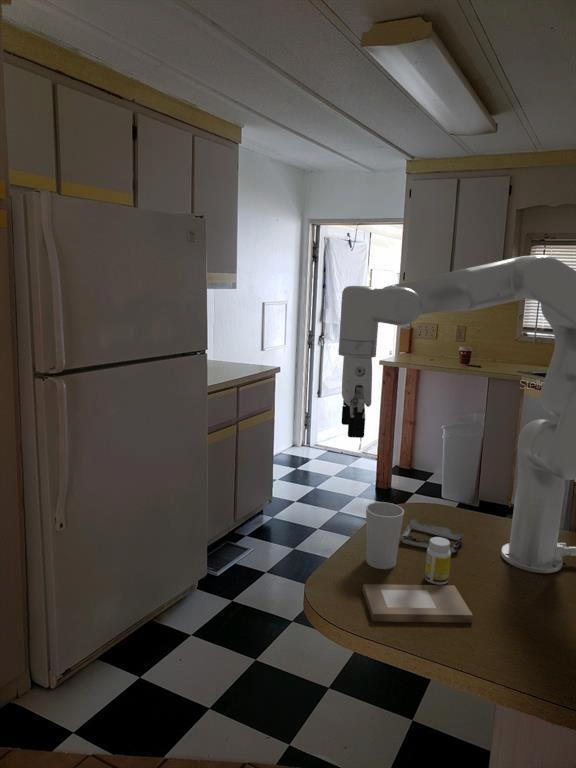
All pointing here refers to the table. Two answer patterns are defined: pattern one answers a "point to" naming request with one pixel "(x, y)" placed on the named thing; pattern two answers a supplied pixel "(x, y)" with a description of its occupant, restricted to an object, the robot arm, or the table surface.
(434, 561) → the supplement bottle
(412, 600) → the board
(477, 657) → the table surface
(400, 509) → the cup
